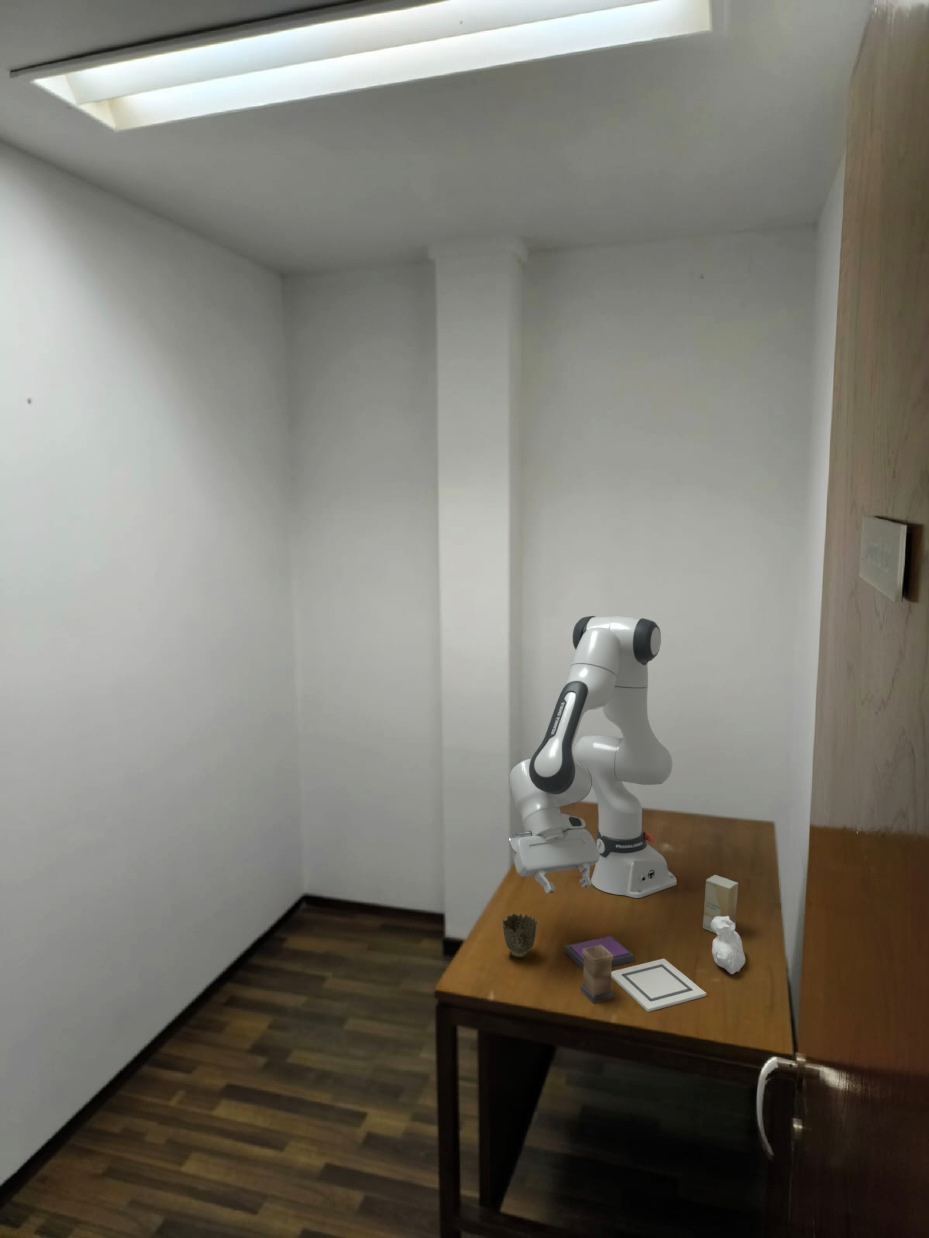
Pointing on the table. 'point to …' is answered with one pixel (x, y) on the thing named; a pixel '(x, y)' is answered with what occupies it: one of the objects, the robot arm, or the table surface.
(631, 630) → the robot arm
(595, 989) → the stamp
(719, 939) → the bust
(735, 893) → the skincare box
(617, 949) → the ink pad
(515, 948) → the cup
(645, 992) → the print card
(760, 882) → the table surface
